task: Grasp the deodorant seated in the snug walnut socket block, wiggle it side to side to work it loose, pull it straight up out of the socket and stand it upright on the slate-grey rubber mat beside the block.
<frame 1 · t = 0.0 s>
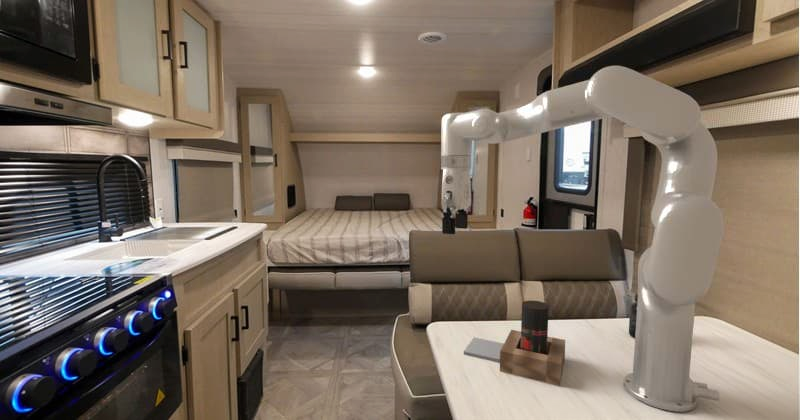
hand: (455, 230, 95), 31 cm above the table, tool pointing down, fingers open, 9 cm apart
supplement bottle: (642, 337, 104), on the table
deodorant: (533, 365, 90), resting in socket block
socket block: (533, 365, 89), on the table
rubber mat: (485, 350, 97), on the table
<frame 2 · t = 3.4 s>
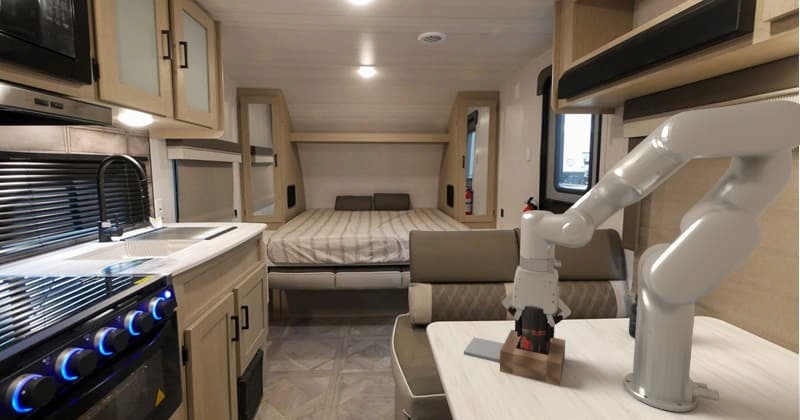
hand: (534, 336, 89), 7 cm above the table, tool pointing down, fingers closed on deodorant, 6 cm apart
deodorant: (533, 365, 89), resting in socket block, touching gripper
everything else where it was.
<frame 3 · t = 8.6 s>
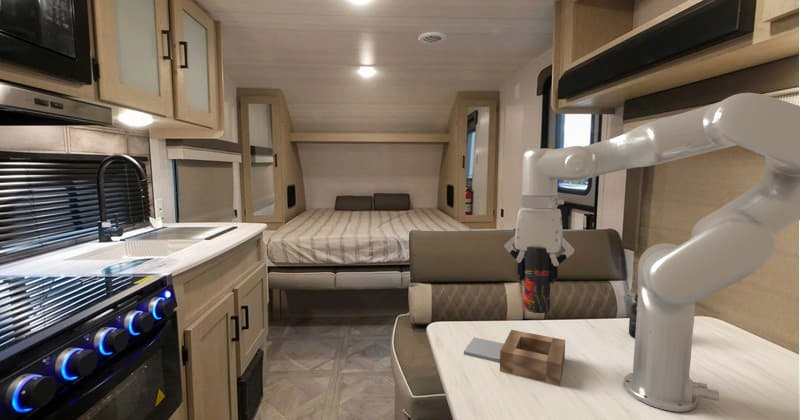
hand: (537, 279, 87), 21 cm above the table, tool pointing down, fingers closed on deodorant, 6 cm apart
deodorant: (536, 309, 88), point 14 cm above the table, touching gripper
everything else where it was.
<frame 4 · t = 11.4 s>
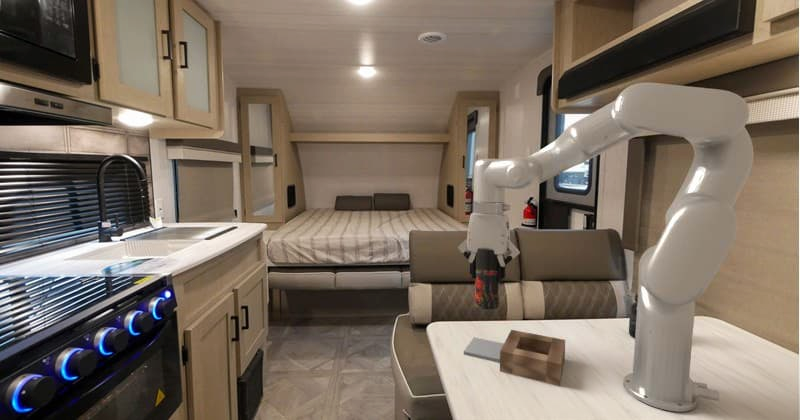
hand: (487, 278, 95), 19 cm above the table, tool pointing down, fingers closed on deodorant, 6 cm apart
deodorant: (486, 305, 96), point 12 cm above the table, touching gripper
everything else where it was.
when the fingers open (9 cm above the table, at t = 14.1 s): deodorant stays where it is, resting on rubber mat.
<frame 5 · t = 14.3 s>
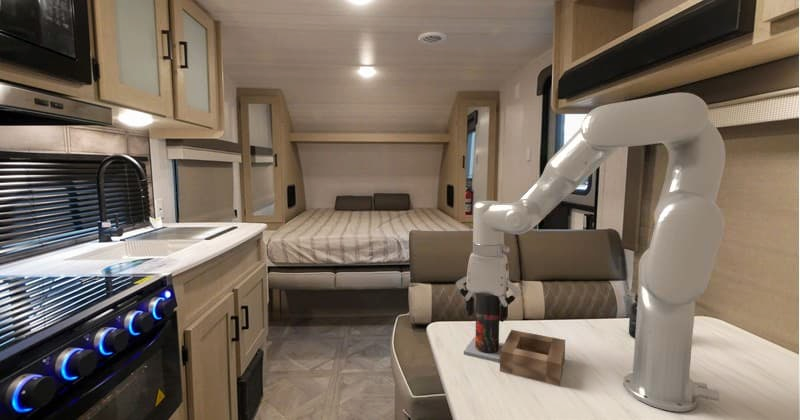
hand: (486, 316, 96), 9 cm above the table, tool pointing down, fingers open, 7 cm apart
deodorant: (486, 348, 97), point 1 cm above the table, touching rubber mat
everything else where it was.
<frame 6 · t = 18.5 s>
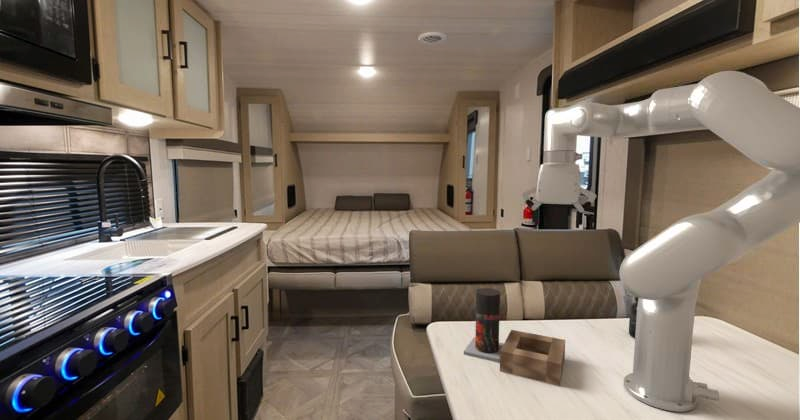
hand: (556, 226, 95), 32 cm above the table, tool pointing down, fingers open, 9 cm apart
nothing on the table moved.
at the end: deodorant 0.3 cm off-centre on the rubber mat, point 0.6 cm above the rubber mat's base; deodorant tilted 0°; the gripper is holding nothing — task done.
